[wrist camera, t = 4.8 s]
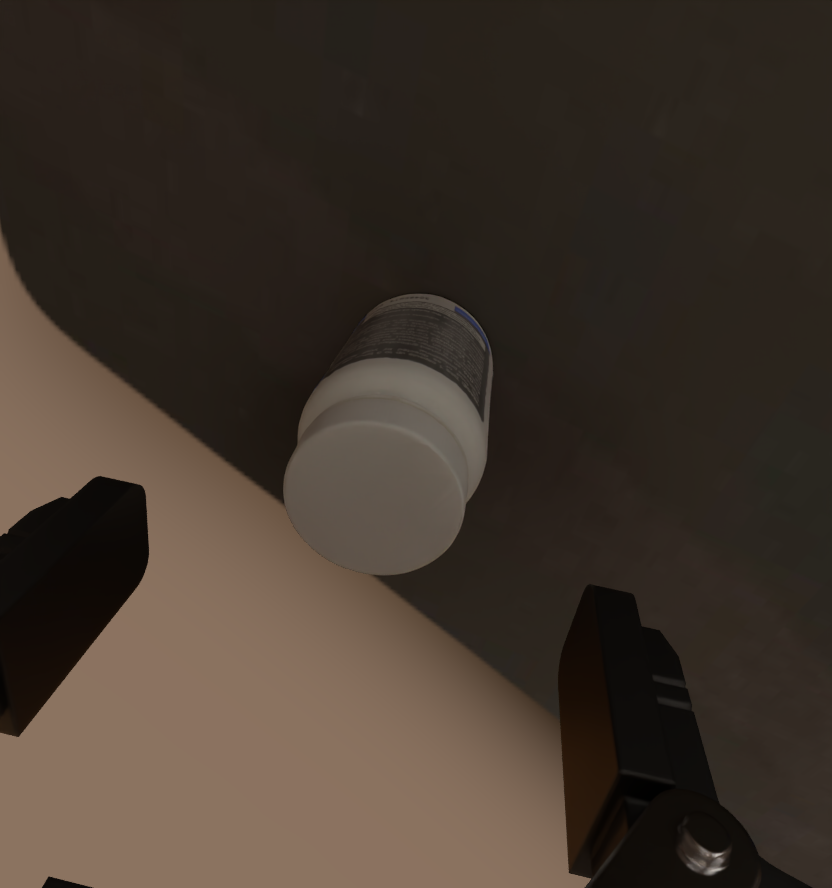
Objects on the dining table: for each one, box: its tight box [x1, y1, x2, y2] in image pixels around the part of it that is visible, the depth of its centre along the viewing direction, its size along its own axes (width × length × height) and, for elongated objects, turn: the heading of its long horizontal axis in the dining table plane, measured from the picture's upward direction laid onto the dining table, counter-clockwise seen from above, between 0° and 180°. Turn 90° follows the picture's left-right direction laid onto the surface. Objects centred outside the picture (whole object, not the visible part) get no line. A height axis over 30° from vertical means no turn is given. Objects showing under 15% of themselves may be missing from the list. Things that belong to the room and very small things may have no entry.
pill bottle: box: [283, 294, 493, 575], centre depth 18 cm, size 5×5×8 cm
